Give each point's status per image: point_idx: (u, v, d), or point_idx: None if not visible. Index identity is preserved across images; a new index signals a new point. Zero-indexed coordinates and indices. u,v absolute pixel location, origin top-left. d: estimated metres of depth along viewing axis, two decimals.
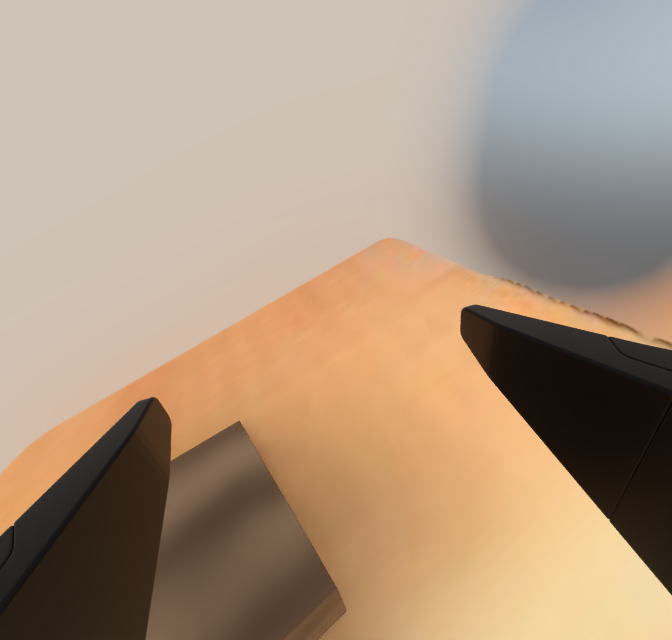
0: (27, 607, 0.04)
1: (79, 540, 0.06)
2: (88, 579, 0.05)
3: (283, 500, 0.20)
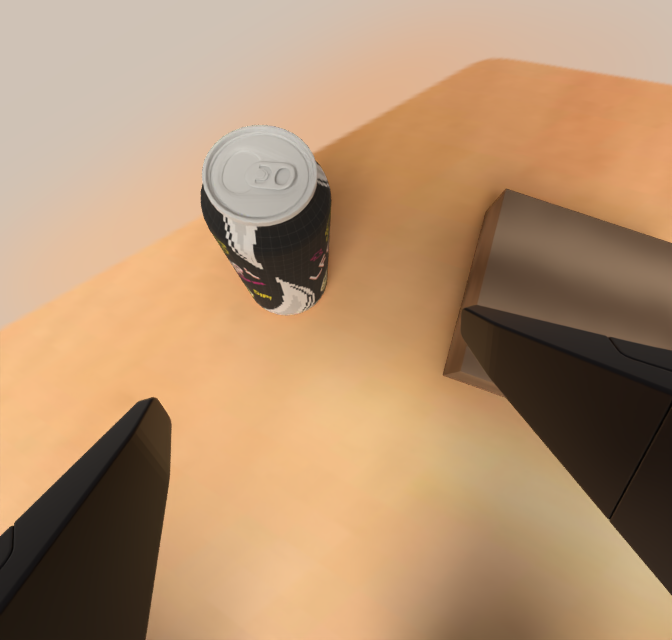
0: (27, 607, 0.04)
1: (79, 540, 0.06)
2: (88, 579, 0.05)
3: None
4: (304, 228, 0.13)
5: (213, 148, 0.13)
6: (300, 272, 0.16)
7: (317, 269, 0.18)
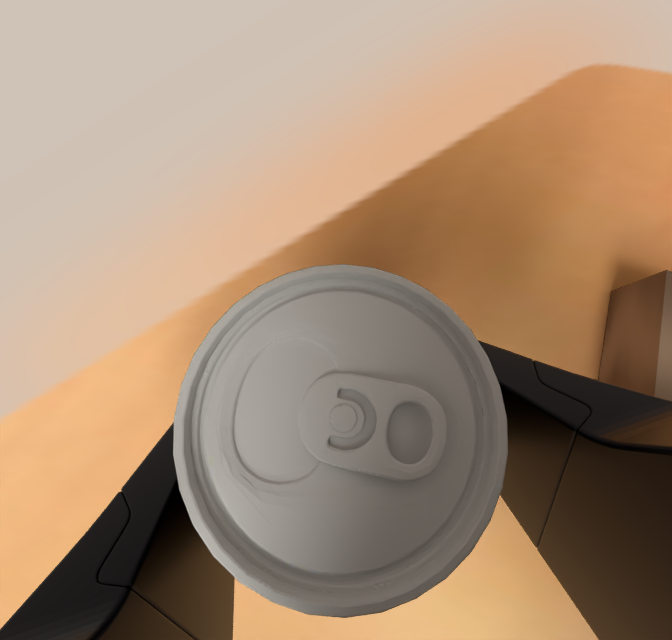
0: (157, 562, 0.05)
1: (182, 507, 0.06)
2: (193, 543, 0.06)
3: None
4: None
5: (208, 344, 0.05)
6: None
7: None
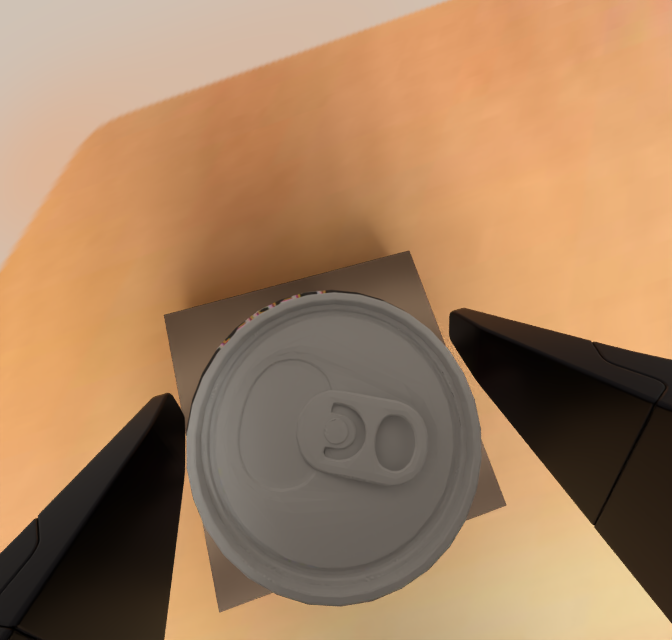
0: (56, 597, 0.04)
1: (102, 532, 0.06)
2: (111, 571, 0.05)
3: None
4: None
5: (214, 368, 0.05)
6: None
7: None
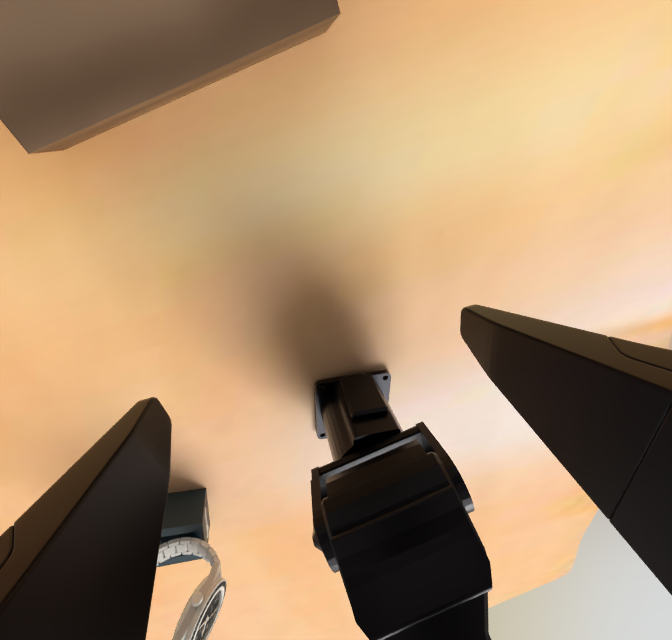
0: (27, 607, 0.04)
1: (80, 540, 0.06)
2: (88, 579, 0.05)
3: None
4: None
5: None
6: None
7: None
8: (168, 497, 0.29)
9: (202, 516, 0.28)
